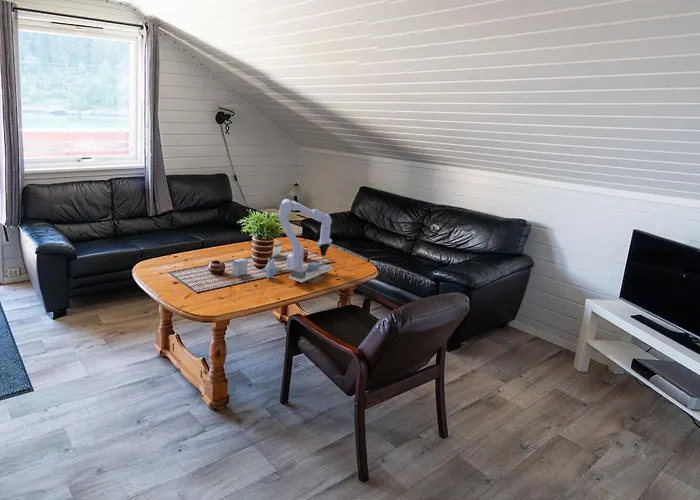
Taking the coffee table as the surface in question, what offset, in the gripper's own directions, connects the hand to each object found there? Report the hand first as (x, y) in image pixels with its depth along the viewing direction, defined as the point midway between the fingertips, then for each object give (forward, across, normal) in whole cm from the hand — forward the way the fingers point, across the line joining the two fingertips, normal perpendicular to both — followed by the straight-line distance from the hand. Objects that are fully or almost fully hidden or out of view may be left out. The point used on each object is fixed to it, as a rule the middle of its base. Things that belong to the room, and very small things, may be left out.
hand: (323, 255), depth 315 cm
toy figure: (+10, -33, +14) cm, 37 cm away
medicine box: (+10, -41, +30) cm, 52 cm away
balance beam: (+10, -16, -3) cm, 19 cm away
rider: (+5, -14, -3) cm, 16 cm away
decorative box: (+10, 0, +40) cm, 41 cm away
